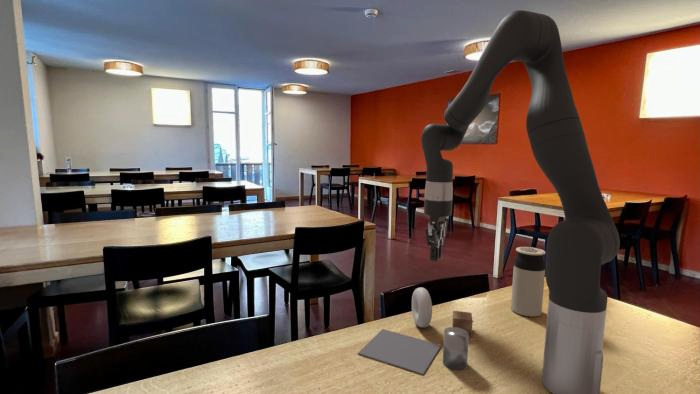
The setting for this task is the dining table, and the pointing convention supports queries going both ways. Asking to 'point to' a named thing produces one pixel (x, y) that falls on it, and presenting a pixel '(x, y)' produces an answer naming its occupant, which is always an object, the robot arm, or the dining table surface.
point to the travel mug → (528, 281)
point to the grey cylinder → (455, 348)
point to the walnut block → (463, 321)
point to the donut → (421, 307)
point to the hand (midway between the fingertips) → (435, 258)
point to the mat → (401, 351)
